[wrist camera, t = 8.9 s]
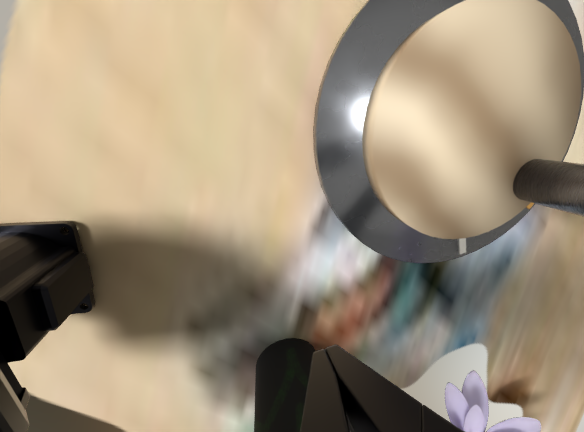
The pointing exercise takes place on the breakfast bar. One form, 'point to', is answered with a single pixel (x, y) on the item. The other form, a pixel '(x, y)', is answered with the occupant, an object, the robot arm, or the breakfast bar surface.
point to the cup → (282, 386)
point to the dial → (476, 119)
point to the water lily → (480, 409)
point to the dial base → (350, 118)
